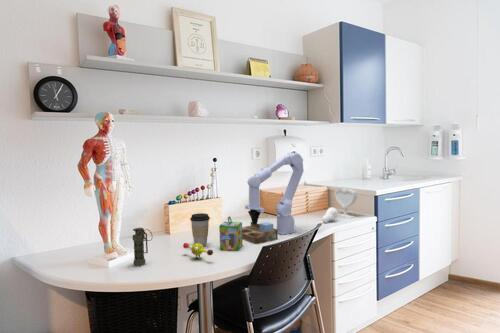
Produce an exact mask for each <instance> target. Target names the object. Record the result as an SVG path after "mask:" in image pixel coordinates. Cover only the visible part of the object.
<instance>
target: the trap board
mask: <svg viewBox="0 0 500 333" xmlns="http://www.w3.org/2000/svg"><path fill="white" fill-rule="evenodd" d="M278 236H279V234H278V230H277V228H274V227H273V230H270V231H265V232H261V233H260V223H257V224H253V223H252V221H250V225H248V226H242V241H243V240H244V241H246V242H248V243H252V244H254V245H259V244H263V243H267V242H271V241H277V240H278V238H279V237H278Z"/></svg>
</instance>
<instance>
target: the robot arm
mask: <svg viewBox="0 0 500 333" xmlns="http://www.w3.org/2000/svg"><path fill="white" fill-rule="evenodd" d="M303 162H304V158H303V157H302V155H301V154H300V153H298V152H288V153H287V154H285V155H283V156H282V157H280V158H279V159H278V160H276V161H275V162H274V163H273V164H272V165H270V166H268V167H262V168H260V171H258V172H257V173H253V175H252V176H250V177H249V178H248V179H247V182H246V183H247V185H248V204H245V206H244V207H245V208H244V210H248V211H247V213H248V214H249V217H250V219H251V222H252V223H253V224H258V222H259V217H260V215H261V213H265V208H264V207H262V206H260V205H261V203H260V202H261V201H260V199H261V198H260V197H261V196H260V186H261V184H263V183H264V182H265V181H266V180H268V179H270V178H271V177H272V174H273V173H274V172H276V171H277V170H279V169H280V168H281V167H283V166H286V165H287V166H290V167H291V169H292V174H291V176H290V178H289V180H288V184H287V186H286V188H285V191H284V194H283V197H282V198H281V199H280V200H279V202H278V204H276V205H275V212H276V213H277V214H276V229H277V230H278V235H282V236H283V235H284V236H285V235H289V234H293V233H296V230H295V218H294V216H293V215H291V214H292V207H293V199H294V196H295V194H296V191H297V188H298V186H299V183H300V181H301V179H302V176H303V174H304V164H303Z"/></svg>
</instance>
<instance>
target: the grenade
mask: <svg viewBox="0 0 500 333" xmlns="http://www.w3.org/2000/svg"><path fill="white" fill-rule="evenodd" d="M132 231H134V234H133V235H132V241H133V254H134V257H133V258H134V260H133V263H132V264H133V266H134V267H142V266H144V265H146V258H145V254H148V252H149V250H148V242H149V241H150V242H151V241H152V240H153V233H152V231H150V229H145V228H144V227H136V228H135V227H134V228H133V229H132ZM146 231H148V232H149V233H150V235H151V239H150V240H148V233H147V232H146ZM144 242H145V244H144ZM144 247H145V248H144ZM144 249H145V250H144Z"/></svg>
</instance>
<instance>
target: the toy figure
mask: <svg viewBox="0 0 500 333" xmlns="http://www.w3.org/2000/svg"><path fill="white" fill-rule="evenodd" d="M182 247H183V248H184V249H190V250H191V254H192V255H194V256H195V257H194V259H196V260H200V259H201V255H202V254H203V253H206V254H207V255H208V256H212V255H213V254H214V251H213V249H207V250H206V249H204V247H203V245H202V244H200V243H195V244H194V243H193V244H192V245H190V244H189V243H188V242H185V243H183V246H182Z"/></svg>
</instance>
